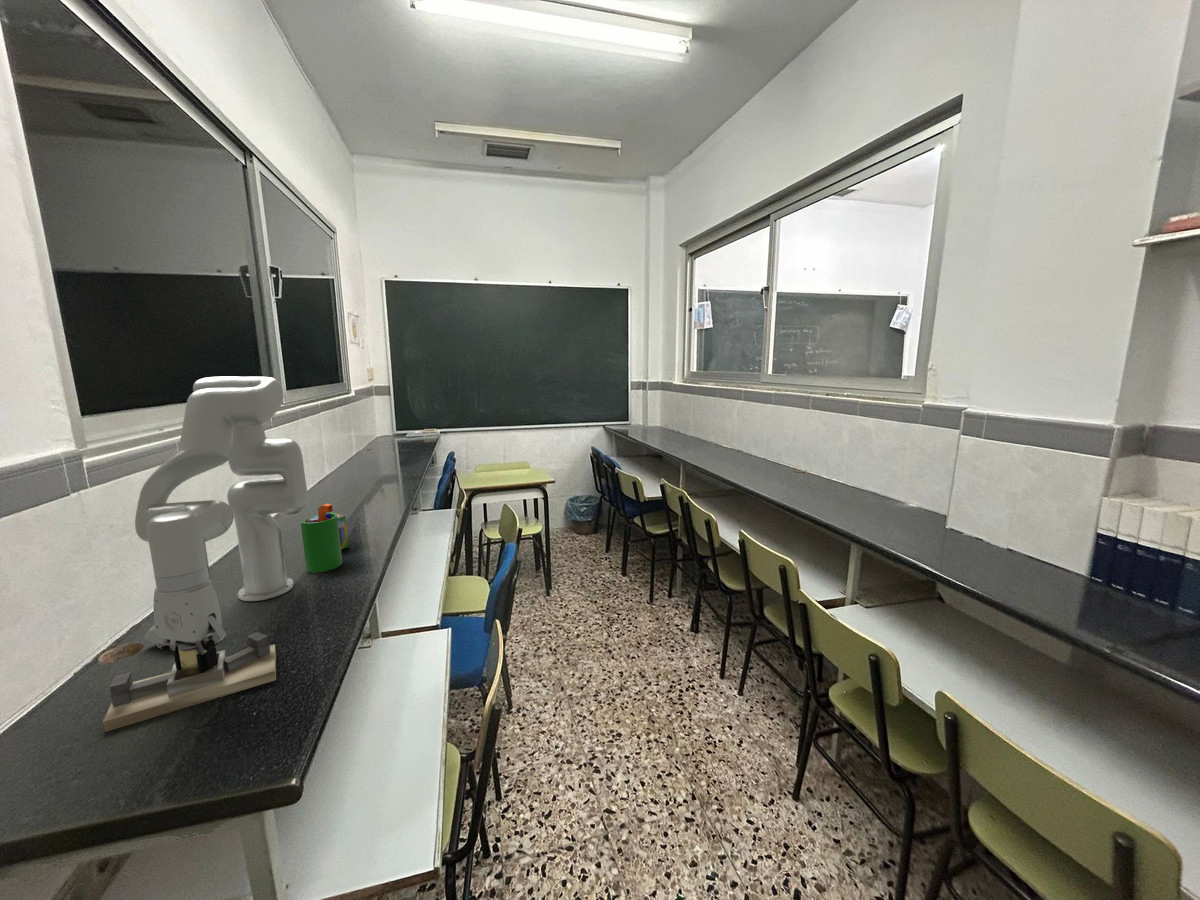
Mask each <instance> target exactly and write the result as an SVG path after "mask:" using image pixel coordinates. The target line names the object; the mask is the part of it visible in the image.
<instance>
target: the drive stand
mask: <svg viewBox="0 0 1200 900" xmlns="http://www.w3.org/2000/svg"><path fill="white" fill-rule="evenodd" d="M246 639H247V647H246V648H244V649H242V650H240V651H238V652H236V653H234V654H232V655H229V656H227V654H226V653H227V651H226V649H223V650H218V651H216V652H217V658H218V664H217V665H216V666H214V667H213V670H212V671H208V672H205V673H201V674H198V675H194V676H190V677H187V678H183V674H182V669H181V670H177V669H176V664H175V662H174V663H173V665H172V669H171V671H170V672H165V673H163V674H159V675H154V676H151V677H147V678H143V679H140V680H135V681H133V676H132V672H131V671H129V672H126V673H122V674H117V675H115V676H114V678H113V680H112V682H111V684H110V686H109V689H110V699H111V703H110V706H109V707H108V710H107V712H106V714H105V716H104V717H103V720H102V726H103V731H104V733H106V732H110V731H113V730H117V729H120V728H124V727H126V726H129V725H133V724H136V723H139V722H143V721H146V720H149V719H153V718H156V717H159V716H163V715H165V714H169V713H172V712H176V711H178V710H179V711H180V710H183V709H185V708H189V707H192V706H196V705H198V704H201V703H205V702H209V701H212V700H215V699H218V697H219V698H222V697H225V696H228V695H232V694H235V693H238V692H242V691H244V690H248V689H251V688H254V687H258V686H261V685H265V684H267V683H271V682H274V681H276V680H277V650H276V644H275V643H274V644H271V645H270V642H269V636H268V635H266V634H263V633H261V632H259V631H256V632H254V633H252V634H250V635H247V636H246Z"/></svg>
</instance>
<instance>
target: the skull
mask: <svg viewBox="0 0 1200 900" xmlns="http://www.w3.org/2000/svg"><path fill="white" fill-rule="evenodd" d="M144 640H145V641H147V642H152V643H153V644H154V645H155V646H156V647H157V648H159V649H161V648H160V647H163V648H164V647H165V646H169V647H170V643H169V642H168V641H167V640H166V639H163V638H160V637H159V636H157V633H156V628H155V624H154V625H152V627H150V628H149V629H148V630H147V632H146V634H145V635H144Z"/></svg>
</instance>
